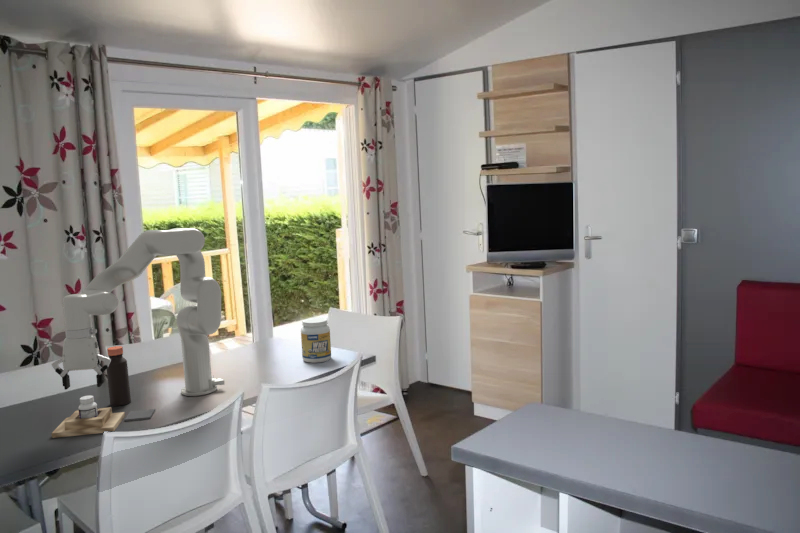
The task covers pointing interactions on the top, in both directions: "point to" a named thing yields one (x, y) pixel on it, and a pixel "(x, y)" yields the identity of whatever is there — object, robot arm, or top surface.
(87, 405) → the pill bottle
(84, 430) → the housing
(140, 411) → the mat
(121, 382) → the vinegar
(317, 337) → the supplement tub
